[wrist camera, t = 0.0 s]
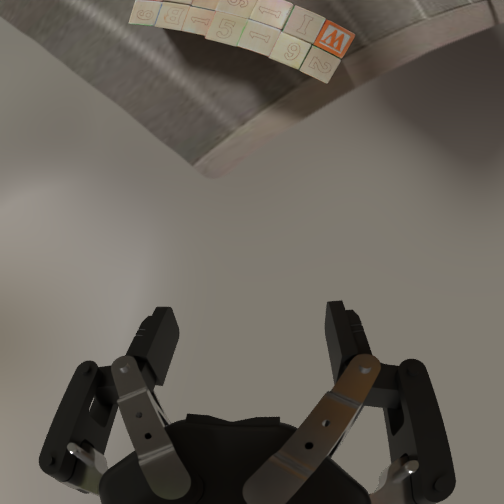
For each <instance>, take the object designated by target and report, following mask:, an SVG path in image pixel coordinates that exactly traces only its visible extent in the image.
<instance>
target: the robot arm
mask: <svg viewBox="0 0 504 504" xmlns="http://www.w3.org/2000/svg"><path fill="white" fill-rule="evenodd" d="M325 336H326V341H327V346H328V351H329V357H330V362H331V367H332V373H333V379H334V384H335V386H334V387H333V389H332V390H331V391H330V392H329V391H328V392H327V393H326V394H325V395H324V396H323V397H322V399H321V400H320V401H319V403H318V404H317V405H316V407H315V408H314V409H313V410H312V412H311V413H310V414H309V416H308V417H307V418H306V419H305V421H304V422H303V423H302V424H301V425H300V427H299V428H296V427H294V426H291V425H288V424H285V423H280V417H255V418H250V419H245V420H240V421H235V422H229V421H226V420H222V419H218V418H215V417H212V416H209V415H197V414H187V417H186V419H185V420H180V421H177V422H174V423H172V424H171V422H170V421H169V419H168V418H167V416H166V414H165V412H164V410H163V408H162V406H161V404H160V402H159V400H158V398H157V396H156V394H155V392H154V387H155V385H159V386H163V384H164V381H165V378H166V375H167V371H168V369H169V365H170V363H171V360H172V357H173V354H174V351H175V348H176V345H177V342H178V339H179V327H178V325H177V322H176V319H175V316H174V313H173V310H172V308H171V307H156V309H155V311H154V312H153V314H152V316H148V317H147V318H146V319H145V320H144V321H143V322H142V323H141V325H140V327H139V330H138V331H137V333H136V336H135V337H134V339H133V341H132V343H131V345H130V347H129V349H128V351H127V353H126V355H125V356H121V357H119V358H117V359H116V360H115V361H114V362H113V363H112V365H111V366H105V367H98V366H97V364H96V363H95V362H94V361H85V362H83V363H81V364H80V365H79V366H78V367H77V369H76V371H75V373H74V375H73V377H72V379H71V381H70V383H69V385H68V388H67V390H66V392H65V394H64V396H63V398H62V401H61V403H60V405H59V407H58V410H57V412H56V414H55V417H54V419H53V422H52V424H51V427H50V429H49V432H48V434H47V437H46V439H45V442H44V445H43V448H42V451H41V453H40V456H39V465H40V467H41V469H42V470H43V471H44V472H45V473H46V474H48V475H50V476H51V477H53V478H55V479H56V480H58V481H59V482H61V483H63V484H65V485H67V486H68V487H70V488H73V489H76V490H78V491H80V492H82V493H92V494H95V495H97V496H100V499H101V503H102V504H435V503H438V502H440V501H443V500H445V499H446V498H447V497H448V496H449V495H450V494H451V493H452V492H453V490H454V488H455V483H456V479H455V473H454V467H453V462H452V457H451V452H450V447H449V443H448V439H447V435H446V431H445V427H444V423H443V419H442V416H441V413H440V409H439V406H438V402H437V399H436V396H435V393H434V390H433V387H432V384H431V381H430V378H429V375H428V372H427V370H426V367H425V365H424V364H423V363H422V362H420V361H419V360H416V359H407V360H405V361H403V362H402V363H401V364H400V366H395V365H387V364H383V363H380V361H379V360H378V359H377V358H376V357H375V356H373V355H372V353H371V350H370V347H369V344H368V341H367V338H366V335H365V332H364V329H363V326H362V325H361V321H360V318H359V316H358V315H357V314H356V313H355V312H354V311H353V310H345V307H344V305H343V302H342V301H331V302H327V308H326V318H325ZM93 398H94V401H93V403H92V406H91V408H90V411H89V407H90V405H91V402H92V400H93ZM118 406H119V409H120V412H121V415H122V418H123V420H124V423H125V426H126V429H127V431H128V434H129V436H130V439H131V441H132V443H133V446H134V448H135V451H134V452H132V453H131V454H129V455H128V456H126V457H125V458H124V459H122V460H121V461H120V462H118V463H117V464H115V465H114V466H112V467H111V468H110V469H108V467H107V461H106V458H105V457H104V452H105V449H106V445H107V441H108V438H109V435H110V431H111V428H112V425H113V422H114V419H115V415H116V412H117V409H118ZM364 406H372V407H382V408H383V411H384V416H385V422H386V429H387V435H388V442H389V449H390V456H391V464H390V465H389V466H388V467H387V468H386V469H385V470H384V471H383V472H382V473H381V475H380V478H379V484H378V487H377V489H376V490H375V492H374V493H372V494H368V492H367V491H366V489H365V488H364V487H363V486H362V485H360V484H359V483H358V482H357V481H356V480H355V479H353V478H352V477H351V476H350V475H349V474H348V473H346V472H345V471H344V470H343V469H342V468H341V467H340V466H339V465H338V464H337V463H335V462H334V461H333V460H332V459H331V457H332V456H333V455H334V453H335V452H336V451H337V449H338V447H339V446H340V445H341V443H342V442H343V440H344V438H345V437H346V435H347V434H348V432H349V430H350V429H351V427H352V426H353V424H354V422H355V421H356V419H357V418H358V416H359V414H360V412H361V411H362V409H363V408H364Z"/></svg>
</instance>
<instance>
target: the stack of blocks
mask: <svg viewBox="0 0 504 504" xmlns="http://www.w3.org/2000/svg"><path fill="white" fill-rule="evenodd" d="M129 24H137V25H147V26H155V27H160V28H167V29H173V30H179V31H184V32H189V33H194V34H199V35H204V36H205V39H208V40H212V41H216V42H220V43H224V44H228V45H232V46H238V47H241V48H244V49H247V50H251V51H254V52H257V53H259V54H262V55H265V56H268V58H270V59H272V60H275V61H278V62H280V63H283V64H285V65H288V66H290V67H292V68H295V69H298V70H299V71H301V72H303V73H305V74H307V75H309V76H311V77H314V78H316V79H318V80H320V81H322V82H324V83H326V84H327V83H328V82H329V80H330V79H331V77H332V75H333V73H334V72H335V70H336V68H337V67H338V65H339V64H340V62H341V60H340V59H341V58H342V57H343V56H344V55H345V53H346V51H347V49H348V48H349V46H350V44H351V43H352V41H353V39H354V37H355V34H354V33H352V32H350V31H349V30H347V29H345V28H343V27H341V26H339V25H337V24H335V23H333V22H332V21H330V20H327V19H326V18H324V17H322V16H320V15H318V14H316V13H313V12H311V11H309V10H306V9H304V8H301V7H299V6H296V5H294V4H293V3H291V2H288V1H285V0H136V1H135V4H134V7H133V10H132V14H131V17H130V20H129Z"/></svg>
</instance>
